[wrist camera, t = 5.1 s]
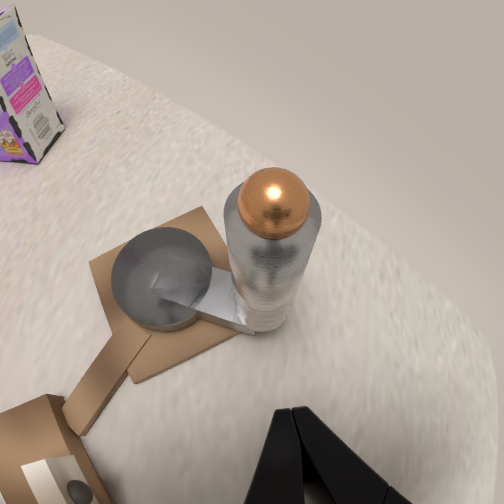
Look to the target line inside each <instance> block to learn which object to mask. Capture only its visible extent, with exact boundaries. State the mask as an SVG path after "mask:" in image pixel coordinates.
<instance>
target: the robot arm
mask: <svg viewBox="0 0 504 504" xmlns="http://www.w3.org/2000/svg"><path fill="white" fill-rule="evenodd" d="M388 486H389V484H388V483H387V482H386V481H385V480H384V479H383V478H382V477H380V476H379V475H378V474H377V473H376V472H375V471H374V470H373V469H372V468H371V467H369V466H368V465H367V464H366V463H365V462H364V461H363V460H362V459H361V458H360V457H359V456H358V455H357V454H355V453H354V452H353V451H352V450H351V449H350V448H349V447H348V446H347V445H346V444H345V443H344V442H343V441H342V440H341V439H340V438H339V437H338V436H337V435H336V434H335V433H334V432H333V431H332V430H331V429H330V428H329V427H327V426H326V425H325V424H324V423H323V422H322V421H321V420H320V419H319V418H318V417H317V416H316V415H315V414H314V413H313V412H312V411H311V410H310V409H309V408H308V407H307V406H301V407H294V408H292V409H290V408H285V409H277V410H275V412H274V415H273V418H272V421H271V425H270V428H269V431H268V434H267V437H266V440H265V443H264V446H263V449H262V453H261V456H260V459H259V462H258V464H257V467H256V470H255V473H254V476H253V479H252V482H251V485H250V488H249V490H248V493H247V496H246V499H245V501H244V504H412V503H411V502H410V501H408V500H407V499H406V498H405V497H403V496H402V495H401V494H400V493H399V492H397V491H396V490H395V489H394V488H393V487H392V486H389V487H388Z"/></svg>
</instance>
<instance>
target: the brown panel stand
mask: <svg viewBox="0 0 504 504" xmlns="http://www.w3.org/2000/svg"><path fill="white" fill-rule="evenodd" d="M160 227H173V228H178V229H182V230H185V231H187V232H189V233H191V234H193V235H194V236H195V237H197V238H198V239H199V240H200V241H201V242H202V243H203V245H204V246H205V248H206V249H207V251H208V253H209V256H210V259H211V263H212V267H215V268H218V269H222V270H225V271H228V272H231V271H230V263H229V255H228V248H227V247H226V245H225V243H224V242H223V240H222V238H221V237H220V235H219V233H218V232H217V230H216V228H215V227H214V225H213V223H212V222H211V220H210V218H209V217H208V215H207V213H206V212H205V210H204V208H203V207H202V206H201V207H198V208H196V209H194V210H192V211H190V212H188V213H185V214H183V215H181V216H179V217H177V218H175V219H173V220H170V221H168V222H166V223H164V224H162V225H160V226H158V227H156V228H160ZM128 242H129V241H128ZM128 242H126V243H124V244H122V245H120V246H118V247H116V248H114V249H112V250H110V251H108V252H106V253H104V254H102V255H100V256H98V257H97V258H95V259H93V260H91V261H89V265H90V268H91V272H92V275H93V278H94V282H95V285H96V288H97V291H98V294H99V297H100V300H101V303H102V306H103V309H104V312H105V315H106V317H107V320H108V323H109V326H110V328H111V331H112V334H113V335H112V336H111V338H110V339H109V341H108V342H107V343H106V345H105V346H104V347H103V349H102V350H101V352H100V353H99V354H98V356H97V357H96V359H95V360H94V361H93V363H92V364H91V366H90V367H89V369H88V370H87V371H86V373H85V374H84V376H83V377H82V379H81V380H80V382H79V383H78V385H77V386H76V387H75V389H74V390H73V392H72V393H71V395H70V396H69V398H68V399H67V401H66V402H65V401H64V398H63V397H62V396H56V395H51V394H45V395H42V396H40V397H38V398H35V399H33V400H31V401H28V402H26V403H24V404H22V405H19V406H17V407H14V408H12V409H10V410H7V411H5V412H3V413H0V492H1V494H2V496H3V498H4V500H5V502H6V504H114V503H113V501H112V500H111V498H110V496H109V495H108V493H107V491H106V489H105V488H104V486H103V484H102V482H101V480H100V478H99V477H98V475H97V473H96V471H95V469H94V467H93V465H92V463H91V461H90V459H89V457H88V455H87V453H86V451H85V449H84V446H83V444H82V442H81V440H80V438H79V436H85V435H86V433H87V432H88V431H89V429H90V428H91V426H92V425H93V423H94V422H95V420H96V419H97V418H98V416H99V415H100V413H101V412H102V410H103V409H104V407H105V406H106V405H107V403H108V402H109V400H110V399H111V397H112V396H113V395H114V393H115V392H116V390H117V389H118V388H119V386H120V385H121V383H122V382H123V380H124V379H125V378H126V376H127V375H128V373H129V375H130V377H131V380H132V382H133V383H134V384H138V383H140V382H143V381H145V380H147V379H149V378H151V377H153V376H155V375H157V374H160V373H162V372H164V371H166V370H168V369H170V368H172V367H174V366H176V365H178V364H180V363H182V362H184V361H186V360H188V359H190V358H192V357H194V356H196V355H198V354H200V353H202V352H204V351H206V350H208V349H210V348H212V347H214V346H216V345H218V344H220V343H222V342H224V341H225V340H227V339H229V338H231V337H233V336H235V335H237V334H239V333H241V331H238V330H235V329H231V328H228V327H225V326H222V325H219V324H216V323H213V322H210V321H207V320H204V319H201V318H198V319H197V320H196V321H194V322H193V323H192V324H190V325H188V326H186V327H184V328H182V329H179V330H175V331H169V332H158V331H153V330H149V329H146V328H144V327H142V326H140V325H139V324H138V323H136V322H135V321H134V320H133V319H131V318H130V317H129V316H128V315H127V314H126V313H125V312H123V311H122V309H121V308H120V307H119V306H118V304H117V302H116V301H115V298H114V296H113V293H112V289H111V273H112V268H113V265H114V262H115V260H116V258H117V256H118V254H119V253H120V251H121V250H122V248H123V247H124V246H125V245H126V244H127V243H128Z"/></svg>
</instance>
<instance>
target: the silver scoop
mask: <svg viewBox="0 0 504 504" xmlns="http://www.w3.org/2000/svg"><path fill="white" fill-rule="evenodd" d="M224 223H225V231H226V239H227V247H228V255H229V263H230V271H231V272H228V271H225V270H222V269H218V268H215V267H212V263H211V259H210V256H209V253H208V251H207V249H206V248H205V246H204V245H203V243H202V242H201V241H200V240H199V239H198V238H197V237H195V236H194V235H193V234H191V233H189V232H187V231H185V230H182V229H178V228H173V227H160V228H154V229H150V230H148V231H145V232H143V233H141V234H139V235H137V236H136V237H134V238H133V239H132V240H130V241H129V242H128V243H127V244H126V245H125V246H124V247H123V248H122V250H121V251H120V253H119V254H118V256H117V258H116V260H115V262H114V265H113V268H112V273H111V289H112V293H113V296H114V298H115V301H116V302H117V304H118V306H119V307H120V308H121V309H122V311H123V312H125V313H126V314H127V315H128V316H129V317H130V318H131V319H133V320H134V321H135V322H136V323H138V324H139V325H140V326H142V327H144V328H146V329H149V330H153V331H158V332H169V331H175V330H179V329H182V328H184V327H186V326H188V325H190V324H192V323H193V322H194V321H196V320H197V319H198V318H201V319H204V320H207V321H210V322H213V323H216V324H219V325H222V326H225V327H228V328H231V329H235V330H238V331H241V332H244V333H247V334H250V335H255V332H256V331H258V332H267V331H271V330H274V329H276V328H277V327H279V326H280V325H281V324H282V323H283V322H284V321H285V319H286V318H287V315H288V313H289V310H290V308H291V305H292V303H293V300H294V297H295V295H296V292H297V289H298V287H299V284H300V281H301V279H302V276H303V273H304V271H305V268H306V265H307V263H308V260H309V257H310V254H311V252H312V249H313V246H314V243H315V240H316V238H317V235H318V232H319V229H320V226H321V210H320V206H319V204H318V202H317V200H316V198H315V197H314V195H313V194H312V193H311V192H310V191H309V190H308V189H307V188H306V186H305V184H304V183H303V181H302V180H301V179H300V178H299V177H298V176H297V175H295V174H294V173H292V172H290V171H288V170H286V169H282V168H275V167H272V168H265V169H262V170H259V171H257V172H255V173H254V174H252V175H251V176H250V177H249V178H248V179H247V180H246V181H245V182H243V183H241V184H240V185H239V186H237V187H236V188H235V189H234V190H233V191H232V192H231V194H230V195H229V197H228V199H227V200H226V203H225V207H224Z"/></svg>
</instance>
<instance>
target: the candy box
mask: <svg viewBox="0 0 504 504" xmlns="http://www.w3.org/2000/svg"><path fill="white" fill-rule="evenodd" d="M64 129H65V126H64V124H63V122H62V120H61V118H60V116H59V114H58V112H57V110H56V108H55V106H54V103H53V101H52V99H51V97H50V95H49V93H48V90H47V88H46V86H45V84H44V81H43V79H42V77H41V74H40V72H39V70H38V67H37V65H36V62H35V60H34V57H33V55H32V52H31V50H30V47H29V44H28V42H27V39H26V36H25V34H24V31H23V28H22V25H21V22H20V20H19V17H18V14H17V10H16V7H15V5H12V6H10V7H8V8H6V9H4V10H2V11H0V161H12V162H25V163H36V164H38V162H39V160H40V159H41V158H42V157H43V155H44V154H45V153H46V151H47V150H48V149H49V147H50V146H51V145H52V143H53V142H54V141H55V140H56V139H57V137H58V136H59V135H60V134H61V132H62V131H63V130H64Z"/></svg>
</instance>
